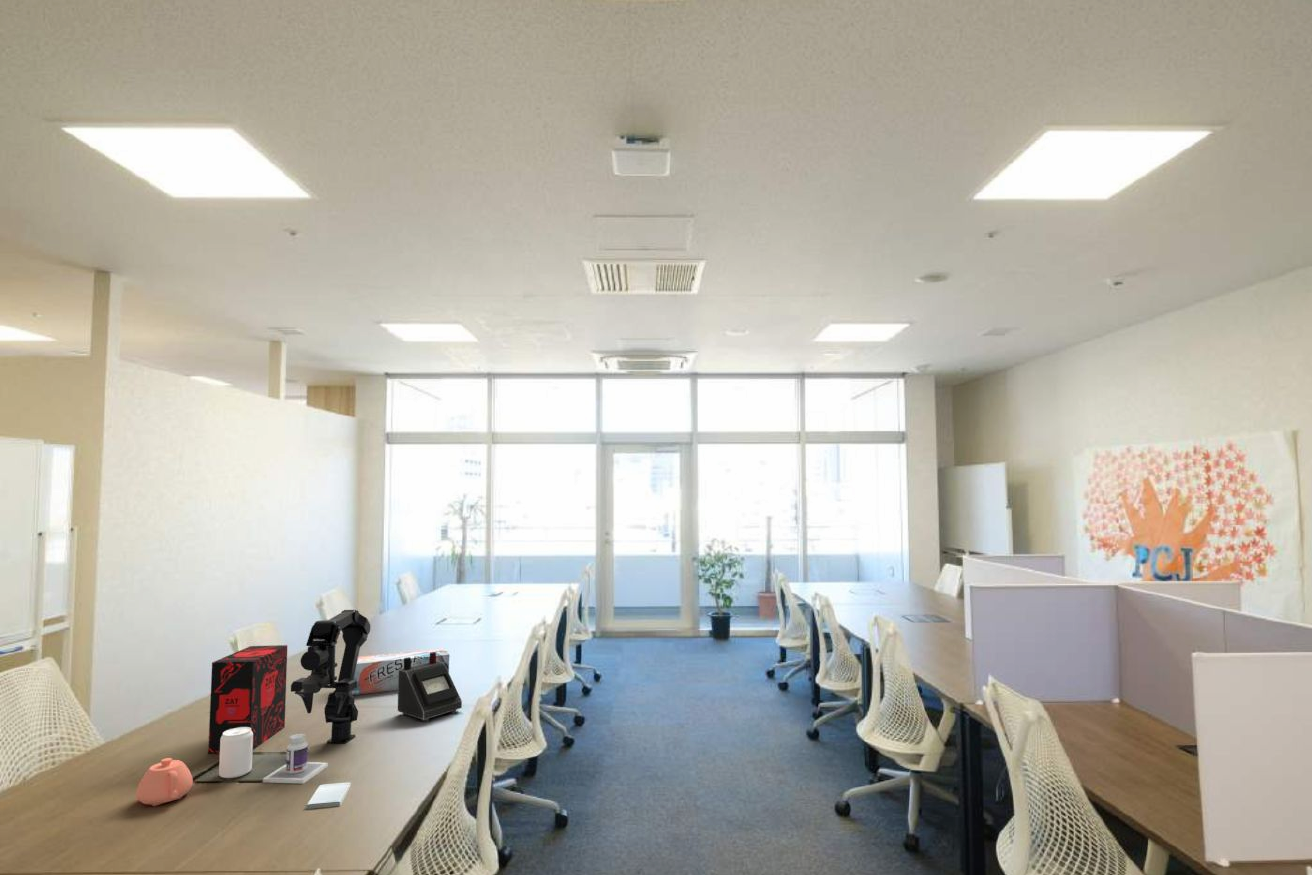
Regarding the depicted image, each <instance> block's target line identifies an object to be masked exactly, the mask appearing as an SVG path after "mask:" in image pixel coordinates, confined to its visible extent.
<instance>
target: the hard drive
mask: <svg viewBox="0 0 1312 875" xmlns="http://www.w3.org/2000/svg"><path fill="white" fill-rule="evenodd" d="M351 785H352V783H351V782H338V783H337V782H336V783H327V784H326V783H325V784H320V785H318V787H317V788H316V790H315V791H314V793H313V794H312V796H311V797H310V799H309V801H308V802H307V803H306V805H305V809H306V810H309V809H321V808H330V807H337V806H341V805H342V803H343V801H344V800H345V798H346V796H347V793H348V792H349V789H350V788H351Z"/></svg>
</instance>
